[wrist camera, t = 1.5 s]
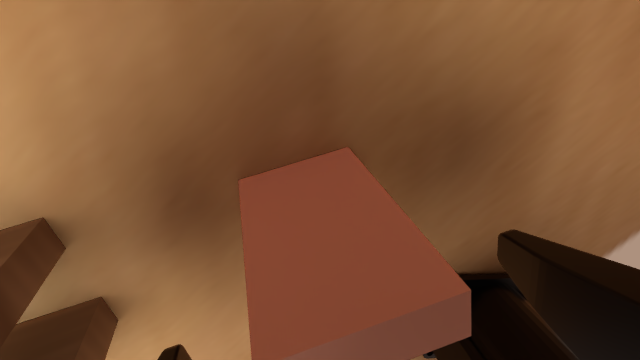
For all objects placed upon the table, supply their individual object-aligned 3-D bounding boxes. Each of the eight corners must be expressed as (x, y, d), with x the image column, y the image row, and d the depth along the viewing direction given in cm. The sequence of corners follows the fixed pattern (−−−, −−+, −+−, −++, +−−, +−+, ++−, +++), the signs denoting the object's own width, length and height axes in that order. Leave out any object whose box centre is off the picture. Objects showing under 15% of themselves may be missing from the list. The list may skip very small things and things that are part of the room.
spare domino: (238, 180, 15) (252, 369, 7) (348, 146, 16) (471, 289, 8) (249, 210, 16) (273, 411, 8) (353, 177, 16) (471, 336, 9)
